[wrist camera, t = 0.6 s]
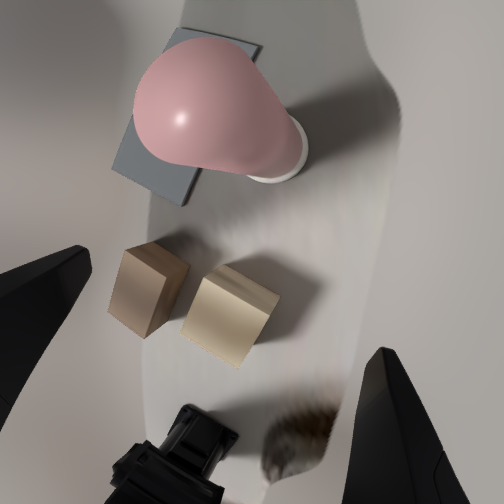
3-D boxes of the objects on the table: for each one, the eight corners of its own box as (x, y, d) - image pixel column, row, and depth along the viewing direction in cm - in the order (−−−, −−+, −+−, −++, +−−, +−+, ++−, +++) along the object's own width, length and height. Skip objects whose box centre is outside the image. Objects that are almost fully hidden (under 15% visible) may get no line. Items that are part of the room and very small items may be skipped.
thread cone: (288, 195, 22) (223, 201, 9) (226, 165, 22) (107, 143, 10) (320, 131, 20) (297, 52, 8) (256, 103, 21) (166, 20, 9)
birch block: (252, 344, 25) (238, 369, 21) (201, 314, 25) (179, 333, 22) (281, 295, 23) (269, 315, 20) (224, 264, 24) (203, 277, 20)
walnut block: (168, 320, 27) (143, 339, 23) (134, 297, 27) (107, 311, 23) (191, 264, 25) (166, 277, 21) (153, 241, 25) (124, 249, 22)
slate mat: (182, 206, 24) (180, 206, 23) (114, 169, 25) (111, 169, 25) (258, 48, 20) (257, 46, 19) (178, 29, 21) (176, 27, 21)
